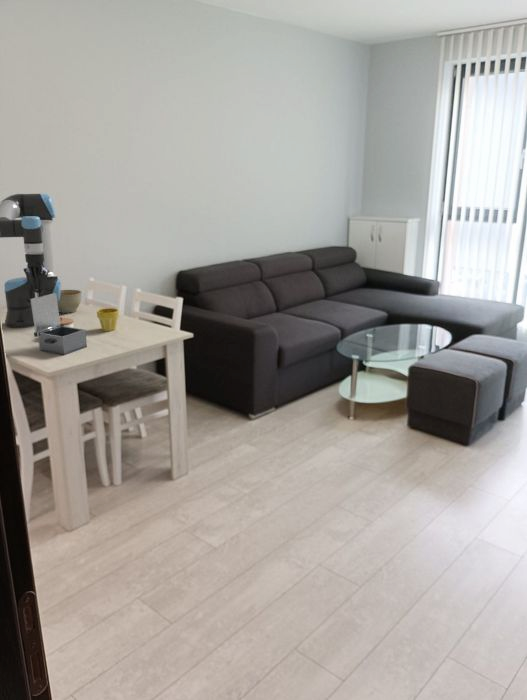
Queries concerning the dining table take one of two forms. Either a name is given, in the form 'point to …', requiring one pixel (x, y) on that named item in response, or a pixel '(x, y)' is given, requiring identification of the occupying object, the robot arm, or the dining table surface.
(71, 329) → the storage box
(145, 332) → the dining table surface
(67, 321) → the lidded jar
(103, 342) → the dining table surface
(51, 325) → the lid
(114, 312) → the plant pot
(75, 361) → the dining table surface
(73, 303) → the planter bowl
